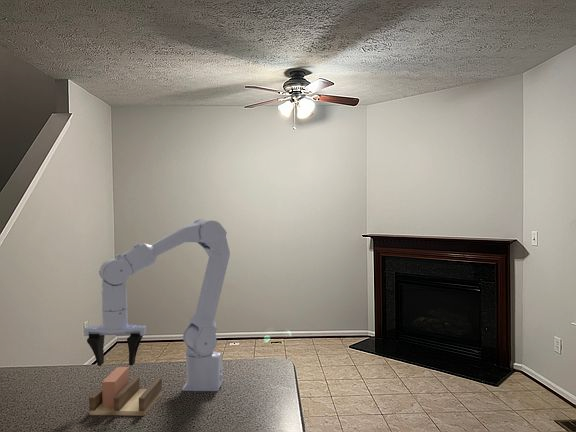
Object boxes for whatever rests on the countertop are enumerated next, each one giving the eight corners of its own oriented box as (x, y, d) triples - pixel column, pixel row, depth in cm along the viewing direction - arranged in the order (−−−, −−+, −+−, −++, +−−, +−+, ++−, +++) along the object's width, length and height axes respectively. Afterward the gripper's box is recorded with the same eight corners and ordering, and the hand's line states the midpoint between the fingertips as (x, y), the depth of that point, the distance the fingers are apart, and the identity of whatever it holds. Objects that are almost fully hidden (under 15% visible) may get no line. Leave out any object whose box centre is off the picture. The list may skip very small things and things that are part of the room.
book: (129, 390, 123) (128, 367, 123) (115, 407, 113) (115, 381, 113) (117, 390, 123) (116, 367, 123) (102, 407, 113) (102, 382, 113)
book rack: (162, 393, 124) (161, 377, 124) (144, 415, 111) (143, 398, 111) (113, 392, 125) (112, 377, 124) (89, 414, 112) (89, 397, 112)
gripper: (149, 304, 122) (150, 358, 122) (91, 305, 122) (93, 359, 122) (140, 311, 115) (142, 368, 115) (79, 312, 115) (81, 369, 115)
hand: (116, 364), depth 118 cm, fingers open, 7 cm apart
